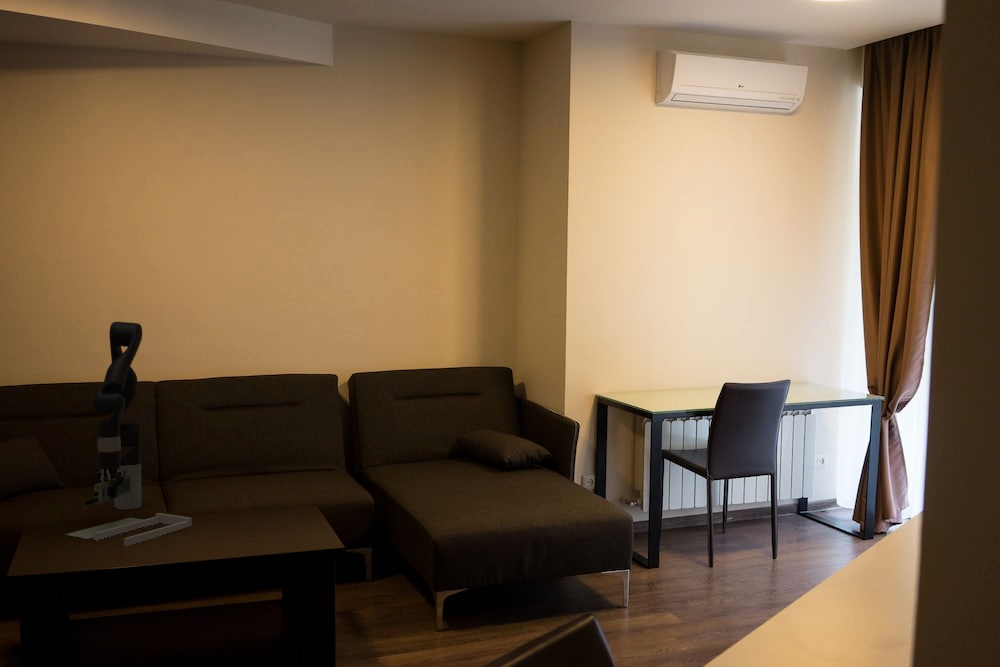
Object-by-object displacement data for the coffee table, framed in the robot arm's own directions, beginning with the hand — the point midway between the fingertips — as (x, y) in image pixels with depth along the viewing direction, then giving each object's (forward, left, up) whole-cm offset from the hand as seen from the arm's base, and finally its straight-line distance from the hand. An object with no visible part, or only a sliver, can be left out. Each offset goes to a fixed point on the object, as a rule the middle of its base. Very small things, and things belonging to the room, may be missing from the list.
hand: (109, 497), depth 324 cm
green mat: (0, 0, -11) cm, 11 cm away
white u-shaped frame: (+16, 0, -11) cm, 20 cm away
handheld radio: (-1, 0, -1) cm, 1 cm away
